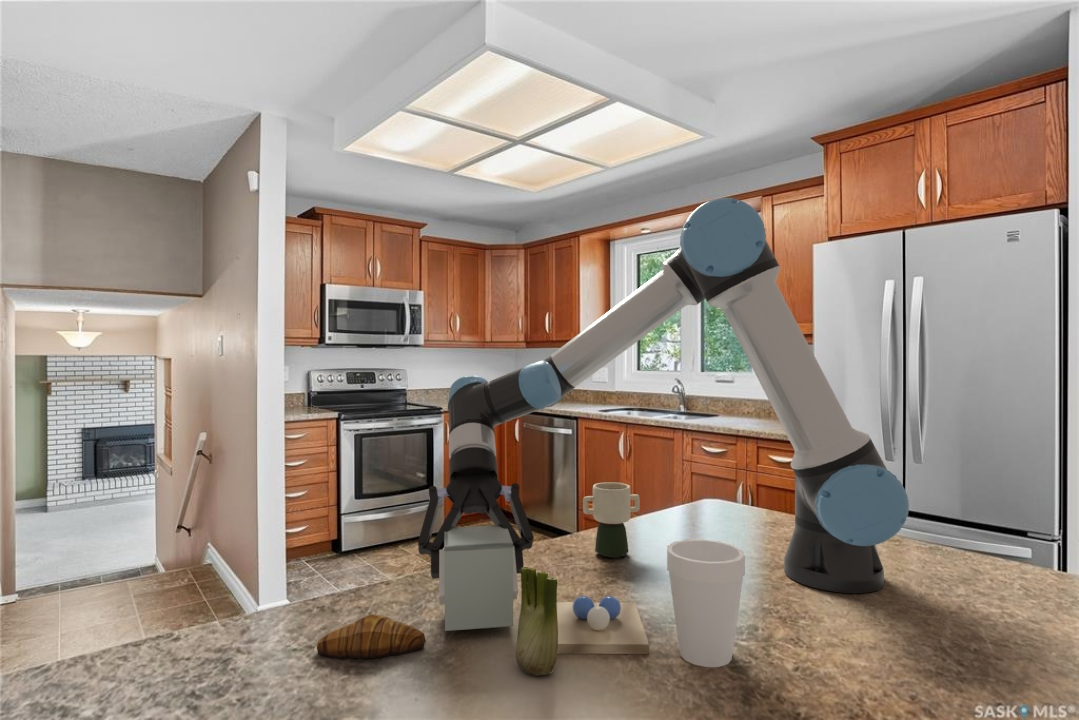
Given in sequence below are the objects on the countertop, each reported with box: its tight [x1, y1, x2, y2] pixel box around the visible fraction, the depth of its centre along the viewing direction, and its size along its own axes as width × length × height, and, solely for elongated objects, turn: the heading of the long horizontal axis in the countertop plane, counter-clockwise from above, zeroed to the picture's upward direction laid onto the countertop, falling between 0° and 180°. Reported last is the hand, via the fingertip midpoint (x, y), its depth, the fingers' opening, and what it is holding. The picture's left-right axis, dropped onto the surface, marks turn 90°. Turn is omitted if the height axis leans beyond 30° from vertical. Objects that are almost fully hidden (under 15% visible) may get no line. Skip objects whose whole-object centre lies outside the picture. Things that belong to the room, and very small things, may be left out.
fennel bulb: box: [515, 566, 558, 676], centre depth 73 cm, size 6×5×12 cm
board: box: [557, 601, 650, 655], centre depth 83 cm, size 16×13×1 cm
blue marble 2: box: [599, 595, 621, 619], centre depth 84 cm, size 3×3×3 cm
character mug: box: [582, 481, 641, 558], centre depth 114 cm, size 11×7×13 cm, turn 99°
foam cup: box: [666, 538, 746, 668], centre depth 76 cm, size 10×9×13 cm
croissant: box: [316, 613, 427, 660], centre depth 78 cm, size 14×7×5 cm, turn 97°
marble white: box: [587, 606, 610, 631], centre depth 81 cm, size 3×3×3 cm
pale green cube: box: [443, 525, 514, 632], centre depth 85 cm, size 9×9×11 cm
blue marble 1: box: [573, 595, 594, 619], centre depth 84 cm, size 3×3×3 cm
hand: (478, 597), depth 82 cm, fingers closed on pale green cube, 9 cm apart
